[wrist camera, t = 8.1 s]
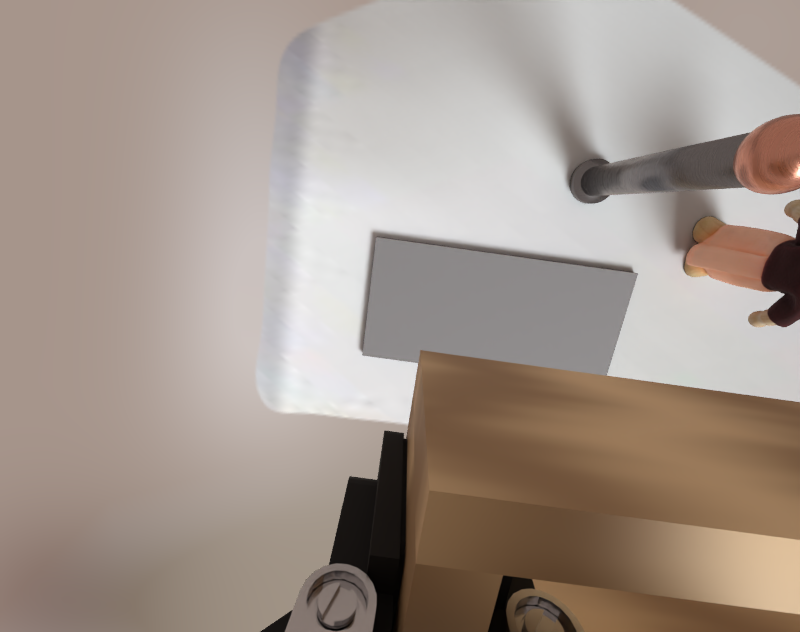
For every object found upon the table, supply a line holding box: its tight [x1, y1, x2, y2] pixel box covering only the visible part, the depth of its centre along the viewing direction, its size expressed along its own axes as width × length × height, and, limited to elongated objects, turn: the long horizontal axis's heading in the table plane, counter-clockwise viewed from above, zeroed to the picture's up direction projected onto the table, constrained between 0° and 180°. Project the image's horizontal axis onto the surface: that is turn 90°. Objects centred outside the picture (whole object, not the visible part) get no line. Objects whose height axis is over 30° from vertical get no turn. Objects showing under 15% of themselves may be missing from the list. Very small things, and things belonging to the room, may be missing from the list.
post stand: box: [570, 114, 800, 203], centre depth 20 cm, size 3×3×16 cm
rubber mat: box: [362, 237, 638, 376], centre depth 31 cm, size 20×10×1 cm, turn 82°
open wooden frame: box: [392, 350, 800, 632], centre depth 8 cm, size 16×8×5 cm, turn 82°
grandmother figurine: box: [684, 200, 800, 327], centre depth 23 cm, size 8×4×13 cm, turn 6°
